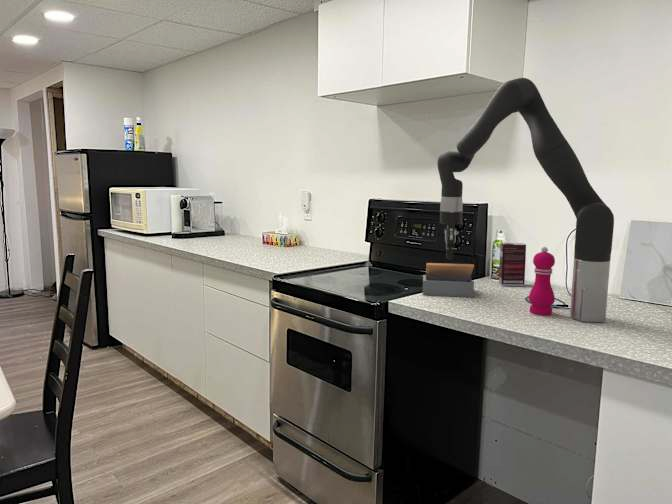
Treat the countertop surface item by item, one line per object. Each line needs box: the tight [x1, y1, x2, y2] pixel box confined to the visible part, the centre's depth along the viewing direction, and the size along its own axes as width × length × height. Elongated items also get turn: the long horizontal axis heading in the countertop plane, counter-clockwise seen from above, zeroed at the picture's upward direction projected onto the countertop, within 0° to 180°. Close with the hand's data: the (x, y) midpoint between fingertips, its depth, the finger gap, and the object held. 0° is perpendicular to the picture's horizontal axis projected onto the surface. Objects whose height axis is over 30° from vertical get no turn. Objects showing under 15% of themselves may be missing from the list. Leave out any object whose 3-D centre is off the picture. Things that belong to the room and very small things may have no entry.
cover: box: [425, 262, 475, 277], centre depth 179 cm, size 11×16×1 cm
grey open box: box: [422, 274, 475, 298], centre depth 178 cm, size 11×17×5 cm, turn 80°
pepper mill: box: [528, 246, 556, 316], centre depth 150 cm, size 7×7×20 cm
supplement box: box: [498, 242, 527, 287], centre depth 190 cm, size 9×5×16 cm, turn 84°
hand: (449, 259), depth 177 cm, fingers closed
